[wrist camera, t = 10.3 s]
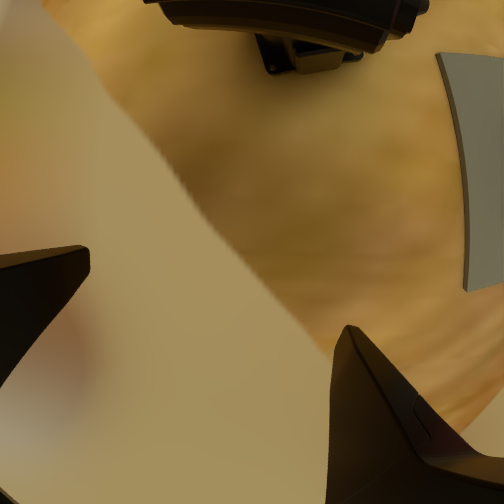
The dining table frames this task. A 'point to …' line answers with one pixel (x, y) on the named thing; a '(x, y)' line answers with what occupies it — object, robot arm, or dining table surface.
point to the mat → (479, 159)
